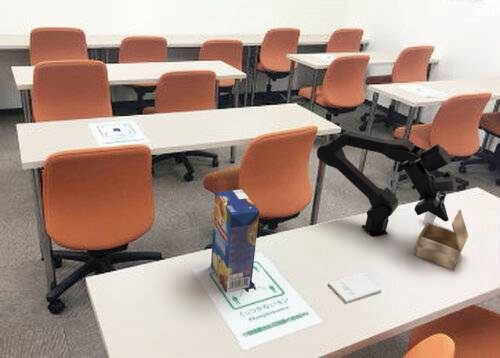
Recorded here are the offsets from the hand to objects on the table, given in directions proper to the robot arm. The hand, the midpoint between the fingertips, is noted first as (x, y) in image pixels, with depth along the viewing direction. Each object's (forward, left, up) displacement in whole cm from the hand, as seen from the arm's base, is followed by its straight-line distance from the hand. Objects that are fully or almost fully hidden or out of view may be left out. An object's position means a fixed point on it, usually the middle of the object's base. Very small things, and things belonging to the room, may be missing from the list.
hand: (446, 220), depth 141 cm
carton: (0, 0, -12) cm, 13 cm away
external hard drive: (-35, -9, -13) cm, 39 cm away
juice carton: (-67, +4, -13) cm, 69 cm away
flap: (+2, -3, -2) cm, 4 cm away
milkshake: (+11, +16, -13) cm, 23 cm away
